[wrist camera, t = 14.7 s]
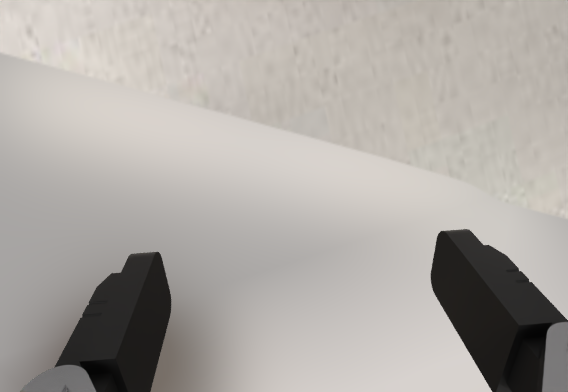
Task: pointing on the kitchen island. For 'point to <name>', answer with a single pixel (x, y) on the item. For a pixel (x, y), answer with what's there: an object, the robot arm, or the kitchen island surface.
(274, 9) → the kitchen island surface
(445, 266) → the robot arm
